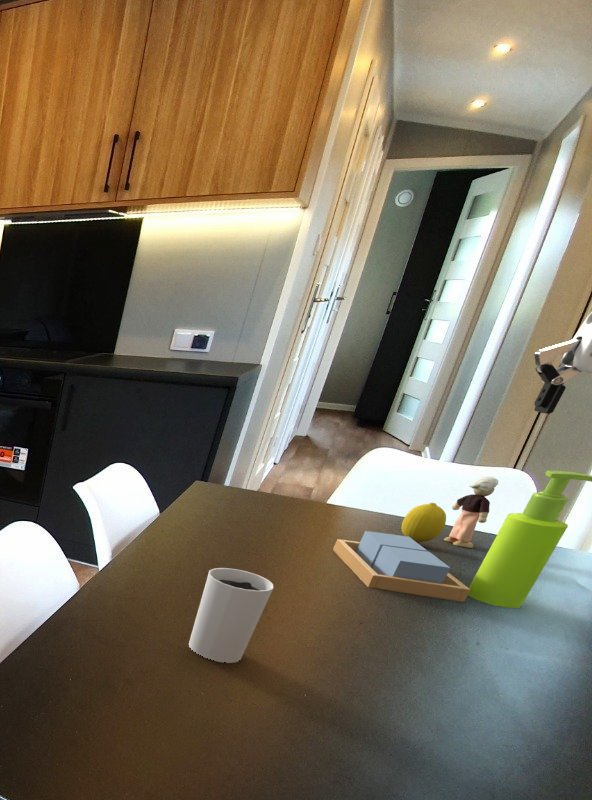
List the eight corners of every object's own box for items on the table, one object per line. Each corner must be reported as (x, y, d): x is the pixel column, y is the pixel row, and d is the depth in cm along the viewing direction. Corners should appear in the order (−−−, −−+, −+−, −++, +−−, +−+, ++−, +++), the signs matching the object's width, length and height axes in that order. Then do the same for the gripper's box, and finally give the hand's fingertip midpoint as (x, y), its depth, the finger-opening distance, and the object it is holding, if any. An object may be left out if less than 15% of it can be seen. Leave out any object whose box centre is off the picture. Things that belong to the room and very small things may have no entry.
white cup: (193, 632, 84) (216, 563, 80) (251, 651, 80) (279, 580, 76) (177, 649, 80) (201, 577, 76) (237, 671, 76) (266, 596, 71)
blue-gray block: (397, 561, 108) (409, 536, 106) (414, 576, 102) (427, 550, 100) (354, 555, 110) (365, 530, 108) (369, 569, 104) (380, 544, 102)
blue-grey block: (416, 577, 102) (429, 551, 100) (436, 594, 96) (450, 567, 94) (370, 570, 104) (382, 545, 102) (387, 587, 98) (400, 560, 96)
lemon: (401, 546, 116) (421, 505, 113) (389, 536, 121) (407, 496, 117) (439, 551, 114) (460, 509, 111) (425, 541, 119) (445, 500, 115)
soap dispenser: (535, 616, 91) (616, 481, 83) (471, 603, 94) (542, 473, 86) (521, 601, 96) (596, 472, 87) (459, 589, 99) (526, 464, 90)
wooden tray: (413, 563, 108) (420, 550, 107) (462, 604, 94) (470, 589, 93) (331, 552, 112) (337, 538, 111) (366, 589, 98) (373, 575, 97)
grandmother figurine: (486, 550, 115) (522, 483, 110) (465, 549, 115) (500, 482, 110) (447, 535, 122) (479, 471, 117) (427, 534, 122) (458, 470, 117)
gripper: (589, 284, 85) (522, 413, 92) (776, 287, 79) (690, 426, 86) (555, 285, 91) (495, 406, 98) (726, 288, 85) (649, 417, 92)
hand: (586, 415), depth 92 cm, fingers open, 9 cm apart
